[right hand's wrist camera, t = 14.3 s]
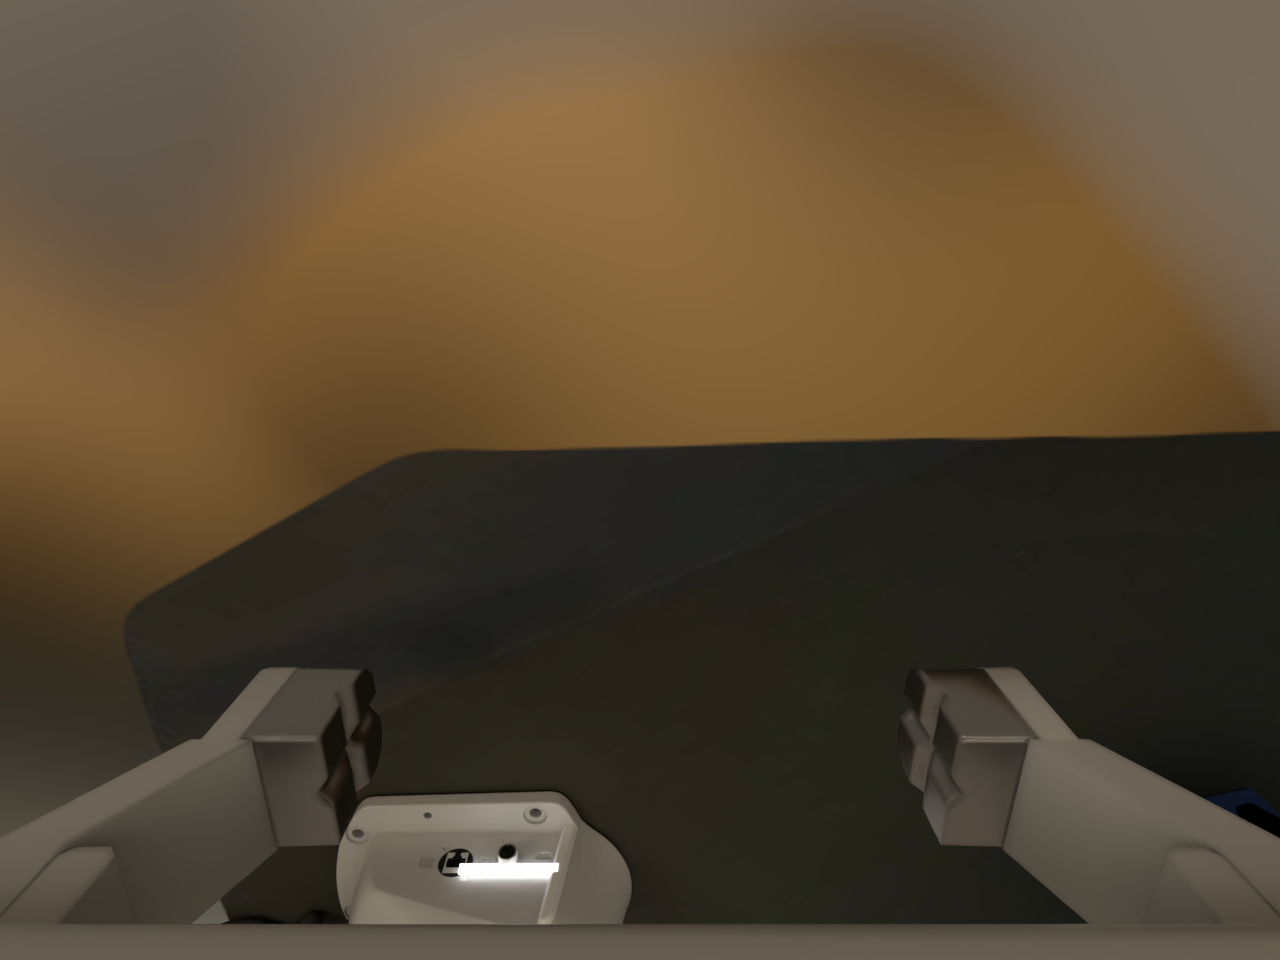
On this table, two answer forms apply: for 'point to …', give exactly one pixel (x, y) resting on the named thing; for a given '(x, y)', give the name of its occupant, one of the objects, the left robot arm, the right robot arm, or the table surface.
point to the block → (1240, 800)
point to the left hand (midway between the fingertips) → (1254, 851)
